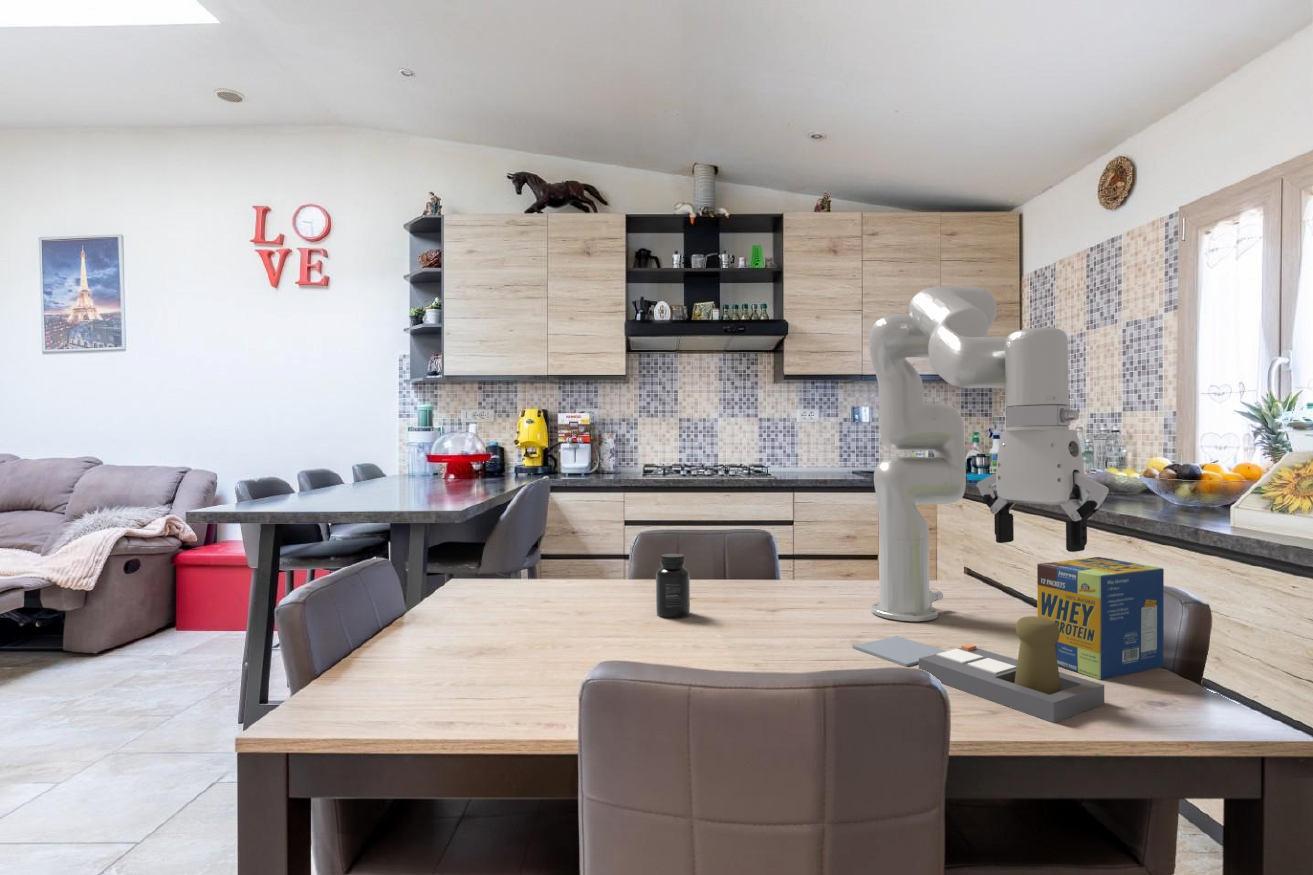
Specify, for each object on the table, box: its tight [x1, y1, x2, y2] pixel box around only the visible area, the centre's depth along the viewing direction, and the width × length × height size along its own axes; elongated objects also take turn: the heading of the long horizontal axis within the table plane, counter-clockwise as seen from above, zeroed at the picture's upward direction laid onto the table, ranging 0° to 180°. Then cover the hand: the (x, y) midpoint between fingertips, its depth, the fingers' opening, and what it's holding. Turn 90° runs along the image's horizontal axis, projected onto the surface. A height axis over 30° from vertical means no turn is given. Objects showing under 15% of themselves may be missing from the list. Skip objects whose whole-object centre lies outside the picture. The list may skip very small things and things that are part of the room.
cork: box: [1014, 615, 1062, 695], centre depth 93 cm, size 6×6×11 cm
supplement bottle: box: [655, 553, 691, 619], centre depth 138 cm, size 7×7×12 cm
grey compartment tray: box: [918, 643, 1105, 724], centre depth 96 cm, size 12×20×3 cm, turn 30°
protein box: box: [1036, 556, 1165, 681], centre depth 107 cm, size 10×15×16 cm
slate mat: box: [852, 635, 947, 667], centre depth 113 cm, size 11×11×1 cm
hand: (1038, 546), depth 92 cm, fingers open, 9 cm apart
